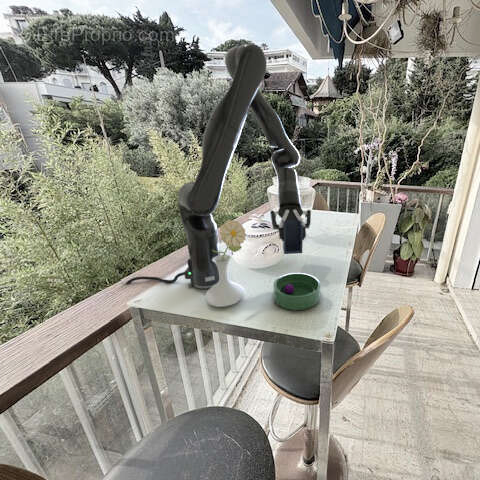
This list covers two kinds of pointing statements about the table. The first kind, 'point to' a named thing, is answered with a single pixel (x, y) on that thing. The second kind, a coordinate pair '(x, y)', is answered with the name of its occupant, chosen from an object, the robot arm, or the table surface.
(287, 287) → the ball
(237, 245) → the flower in vase
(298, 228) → the dark blue block
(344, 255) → the table surface
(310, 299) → the bowl
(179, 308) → the table surface
